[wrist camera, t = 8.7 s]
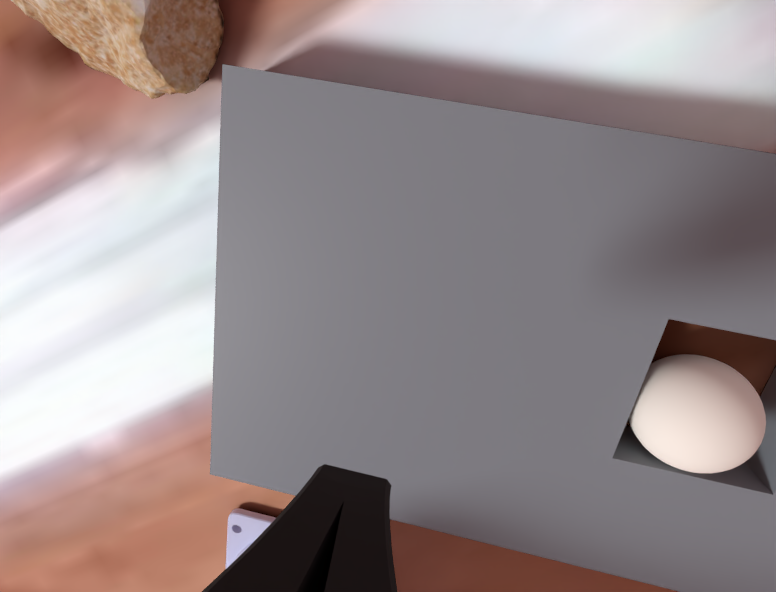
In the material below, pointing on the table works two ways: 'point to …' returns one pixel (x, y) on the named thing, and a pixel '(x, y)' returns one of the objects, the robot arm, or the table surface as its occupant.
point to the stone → (138, 38)
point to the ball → (698, 414)
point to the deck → (487, 320)
